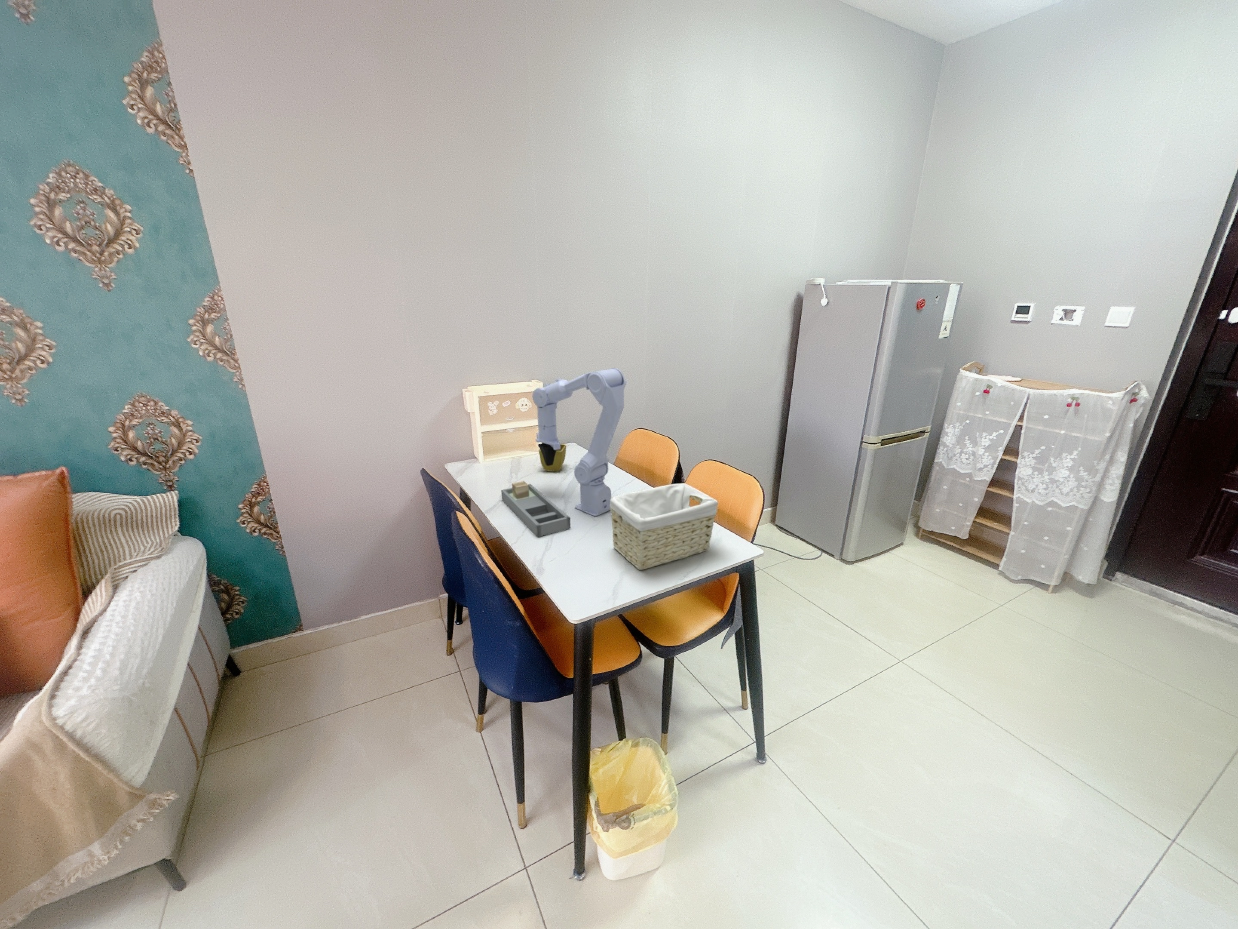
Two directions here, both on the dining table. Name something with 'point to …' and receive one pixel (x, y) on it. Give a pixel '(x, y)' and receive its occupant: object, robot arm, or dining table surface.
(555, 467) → the flower pot
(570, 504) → the dining table surface
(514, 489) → the maple block
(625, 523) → the storage basket
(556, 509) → the box
